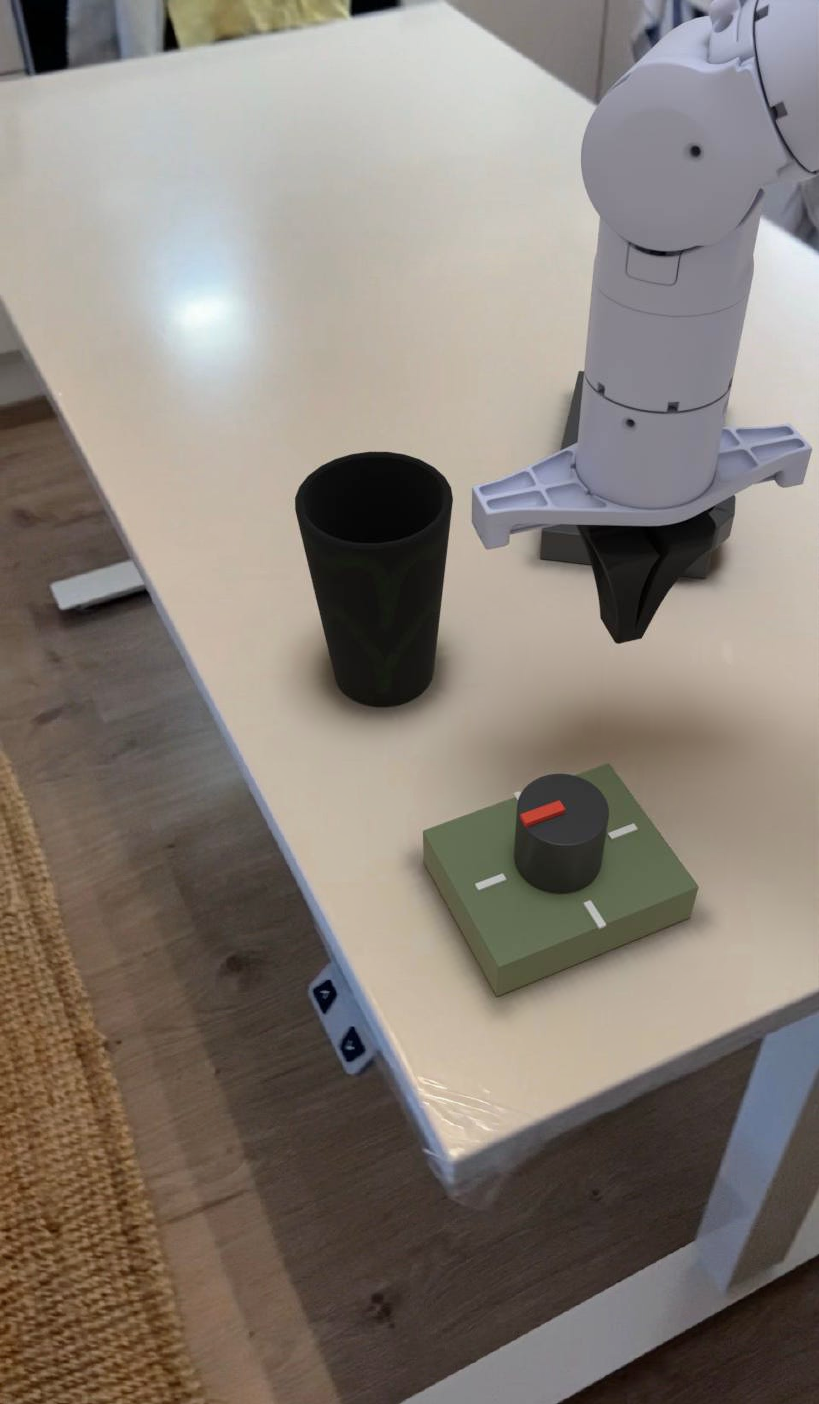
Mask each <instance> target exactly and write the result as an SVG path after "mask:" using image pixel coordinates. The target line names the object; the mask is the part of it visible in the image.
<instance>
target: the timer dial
mask: <svg viewBox="0 0 819 1404" xmlns="http://www.w3.org/2000/svg"><path fill="white" fill-rule="evenodd" d="M574 775H575V774H570V773H569V774H568V773H552V774H546V775H543V776H540V777H538V778H536V779H534V780H532V781H530V783H529V784H527V785H526V786H525V787H524V788H523V789H522V791H521V794H520V796H519V799H518V802H517V813H516V828H515V843H514V861H515V864H516V867H517V869H518V871H519V872H520V874H521V875H522V876H523V878H524V879H525V880H526V881H528V882H529V883H530V884H532V885H533V886H535V887H537V888H539V889H541V890H544V891H548V892H553V893H569V892H574V891H577V890H580V889H582V888H584V887H585V886H587V885H588V884H590V883H591V882H592V881H593V880H594V879H595V878H596V876H597V875H598V873H599V871H600V868H601V865H602V858H603V852H604V846H605V839H606V833H607V827H608V820H609V806H608V803H607V800H606V798H605V797H604V795H603V794H602V792H601V791H600V790H599V789H598V788H597V787H596V786H595V785H593V784H592V783H591V782H589V781H587V780H585V779H583V778H581V777H578V776H574Z"/></svg>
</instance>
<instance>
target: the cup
mask: <svg viewBox="0 0 819 1404" xmlns="http://www.w3.org/2000/svg"><path fill="white" fill-rule="evenodd" d="M453 503H454V497H453V491H452V486H451V485H450V483H449V482H448V480H447V478H446V476H445V475H444V474H443V473H441V471H439V470H438V469H437V468H436V467H435V466H433V465H431V464H430V463H428V462H425V461H424V460H423V459H421V458H417V457H414V456H411V455H408V454H405V453H398V452H393V451H392V452H391V451H364V452H357V453H350V454H348V455H347V454H346V455H343V456H341V457H337V458H334V459H332V460H330V461H328V462H326V463H324V464H322V465H320V466H319V467H318V468H316V469H315V470H314V471H312V472H311V473H310V474H308V475H307V477H305V478H304V479H303V481H302V482H301V484H300V485H299V486H298V489H297V491H296V494H295V496H294V511H295V515H296V520H297V523H298V528H299V533H300V537H301V541H302V544H303V549H304V554H305V557H306V561H307V567H308V570H309V574H310V575H309V576H310V579H311V583H312V587H313V593H314V597H315V600H316V605H317V609H318V612H319V613H318V614H319V618H320V621H321V626H322V630H323V634H324V638H325V642H326V646H327V652H328V655H329V659H330V663H331V667H332V672H333V673H332V674H333V676H334V680H335V683H336V686H337V687H338V689H339V690H340V691H341V692H342V693H343V694H344V695H345V696H346V697H347V698H349V699H351V700H352V701H354V702H357V703H359V704H362V705H365V706H368V707H369V706H370V707H375V708H376V707H377V708H389V707H395V706H400V705H403V704H406V703H408V702H411V701H413V700H414V699H416V698H418V697H419V696H421V694H422V693H424V692H425V691H426V690H427V689H428V688H429V686H430V684H431V682H432V680H433V676H434V672H435V664H436V656H437V655H436V654H437V646H438V639H439V638H438V636H439V627H440V618H441V611H442V601H443V593H444V585H445V576H446V575H445V574H446V567H447V566H446V565H447V556H448V547H449V539H450V530H451V522H452V521H451V519H452V512H453Z"/></svg>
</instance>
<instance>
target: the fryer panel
mask: <svg viewBox="0 0 819 1404" xmlns="http://www.w3.org/2000/svg"><path fill="white" fill-rule="evenodd" d="M573 775H574V776H578V777H581V778H583V779H585V780H587V781H589V782H591V783H592V784H593V785H595V786H596V787H597V788H598V789H599V790H600V791H601V792H602V794H603V795H604V797H605V798H606V800H607V803H608V806H609V820H608V827H607V833H606V839H605V846H604V852H603V858H602V865H601V868H600V871H599V873H598V875H597V876H596V878H595V879H594V880H593V881H592V882H591V883H590V884H588V885H587V886H585V887H584V888H582V889H580V890H577V891H574V892H569V893H553V892H548V891H544V890H541V889H539V888H537V887H535V886H533V885H532V884H530V883H529V882H528V881H526V880H525V879H524V878H523V876H522V875H521V874H520V872H519V871H518V869H517V867H516V864H515V861H514V843H515V828H516V813H517V802H518V799H519V796H520V794H521V792H522V791H521V790H519V791H516V792H514V793H513V796H514V797H511V798H509V799H506V800H503V801H500V802H497V803H495V804H493V805H490V806H486V807H484V808H481V809H479V810H476V811H473V812H470V813H467V814H465V815H461V816H459V817H456V818H454V819H452V820H448V821H445V822H443V823H440V824H437V825H435V826H432V827H429V828H426V829H424V830H422V847H423V848H422V852H423V853H422V854H423V856H422V857H423V863H424V866H425V867H426V869H427V871H428V873H429V875H430V876H431V878H432V880H433V882H434V883H435V886H436V888H437V889H438V891H439V893H440V895H441V897H442V899H443V900H444V902H445V905H446V906H447V908H448V910H449V911H450V913H451V916H452V917H453V919H454V921H455V923H456V924H457V927H458V929H459V930H460V932H461V934H462V936H463V937H464V939H465V942H466V943H467V944H468V947H469V948H470V951H471V953H472V954H473V956H474V958H475V959H476V961H477V963H478V965H479V967H480V969H481V971H482V972H483V974H484V976H485V978H486V979H487V981H488V983H489V985H490V987H491V990H492V991H493V992H494V994H495V996H496V997H499V996H502V995H505V994H507V993H509V992H512V991H514V990H517V989H519V988H521V987H524V986H527V985H530V984H531V983H534V982H536V981H539V980H541V979H544V978H546V977H548V976H551V975H553V974H556V973H559V972H561V971H563V970H565V969H567V968H570V967H573V966H576V965H577V964H580V963H583V962H584V961H587V960H591V959H592V958H595V957H598V956H600V955H602V954H604V953H607V952H609V951H612V950H615V949H616V948H619V947H622V946H623V945H627V944H628V943H631V942H634V941H636V940H639V939H641V938H643V937H646V936H648V935H650V934H653V933H655V932H658V931H660V930H663V929H665V928H668V927H670V926H672V925H675V924H677V923H680V922H682V921H684V920H688V919H689V918H691V917H692V914H693V910H694V906H695V903H696V900H697V895H698V891H699V885H698V883H697V882H696V880H695V879H694V878H693V876H692V875H691V874H690V873H689V871H688V870H687V868H686V867H685V865H684V864H683V863H682V862H681V860H680V858H679V857H678V856H677V854H676V853H675V852H674V850H673V849H672V848H671V847H670V845H669V843H668V842H667V841H666V839H665V838H664V837H663V835H662V834H661V832H660V831H659V830H658V828H657V827H656V825H655V824H654V823H653V821H652V820H651V818H650V817H649V815H648V814H647V813H646V812H645V810H644V809H643V808H642V806H641V804H640V803H639V802H638V801H637V799H636V798H635V796H634V795H633V794H632V792H631V791H630V790H629V789H628V787H627V786H626V784H625V782H623V780H622V779H621V777H620V776H619V774H618V773H617V772H616V770H615V769H614V768H613V766H612V765H611V764H610V763H609V762H607V763H605V764H602V765H599V766H596V767H593V768H591V769H588V770H585V771H582V772H580V773H577V774H573Z"/></svg>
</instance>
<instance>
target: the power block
mask: <svg viewBox="0 0 819 1404" xmlns="http://www.w3.org/2000/svg"><path fill="white" fill-rule="evenodd" d="M583 379H584V370H579V371H578V372H577V375H576V381H575V384H574V389H573V393H572V398H571V403H570V407H569V411H568V415H567V420H566V424H565V429H564V431H563V437H562V441H561V445H560V450H559V451H561V450H563V449H565V448H567V447H569V446H571V445H573V444H576V443H578V432H579V421H580V411H581V400H582V390H583ZM736 501H737V497H736V494H735V495H733V496H731V497H729V498H727V499H725V500H724V501H722V502H720V503H718V504H716V505H714V506H712V507H711V508H709V509H708V511H707V512H708V513H709V515H710V516H711V517H712V519H713V520H714V522H715V523H716V532H715V537H714V542H713V545H712V548H711V549H709V550H708V551H707V552H706V553H704V554H703V555H702V556H700V557H699V558H698V559H697V560H696V561H695V562H694V563H693V564H692V565H691V566H689V567H688V569H687V570H686V571H685V572H684V573H683V574H682V575H681V576H680V577H689V578H697V579H707V576H708V572H709V566H710V562H711V557H712V553H713V552H714V551H715V550H717V549H718V548H719V547H720V546H721V545H722V544H724V542H726V541H727V540H728V539H729V538H730V536H731V532H732V528H733V525H734V519H735V514H736ZM540 534H541V535H540V549H539V559H542V560H551V561H556V562H557V561H559V562H567V563H575V564H583V565H590V566H591V563H590V559H589V556H588V553H587V551H586V548H585V545H584V543H583V540H582V538H581V536H580V533H579V531H578V529H577V527H576V525H575V524H559V525H555V526H550V527H545V528H541V533H540Z"/></svg>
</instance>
